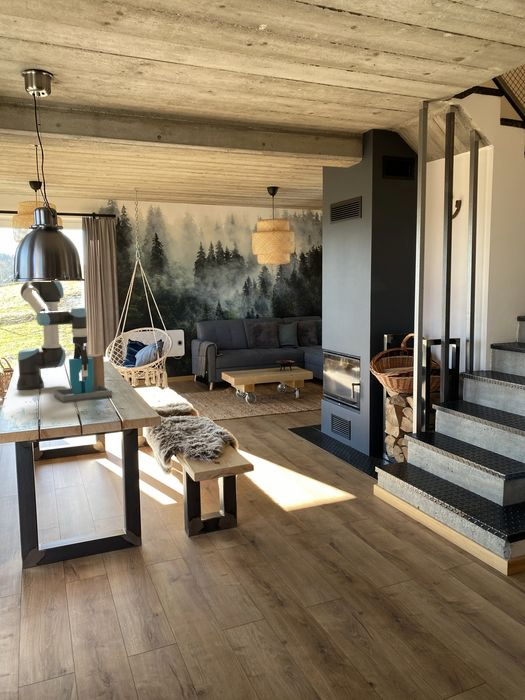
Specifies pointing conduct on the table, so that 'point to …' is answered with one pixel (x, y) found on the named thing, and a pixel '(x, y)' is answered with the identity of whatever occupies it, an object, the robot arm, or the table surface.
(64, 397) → the tray
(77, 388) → the block
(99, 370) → the wooden block
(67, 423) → the table surface
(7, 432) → the table surface
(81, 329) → the robot arm
